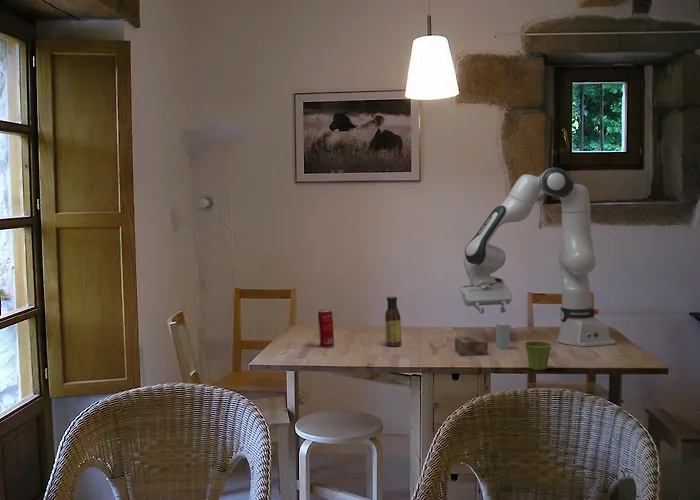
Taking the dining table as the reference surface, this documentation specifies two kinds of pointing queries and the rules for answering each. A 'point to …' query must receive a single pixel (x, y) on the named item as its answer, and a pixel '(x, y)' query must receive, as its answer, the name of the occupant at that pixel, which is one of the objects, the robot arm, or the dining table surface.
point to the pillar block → (502, 336)
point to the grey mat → (472, 355)
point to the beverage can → (326, 328)
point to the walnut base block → (471, 346)
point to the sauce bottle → (392, 323)
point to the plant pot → (538, 354)
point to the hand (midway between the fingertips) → (493, 312)
